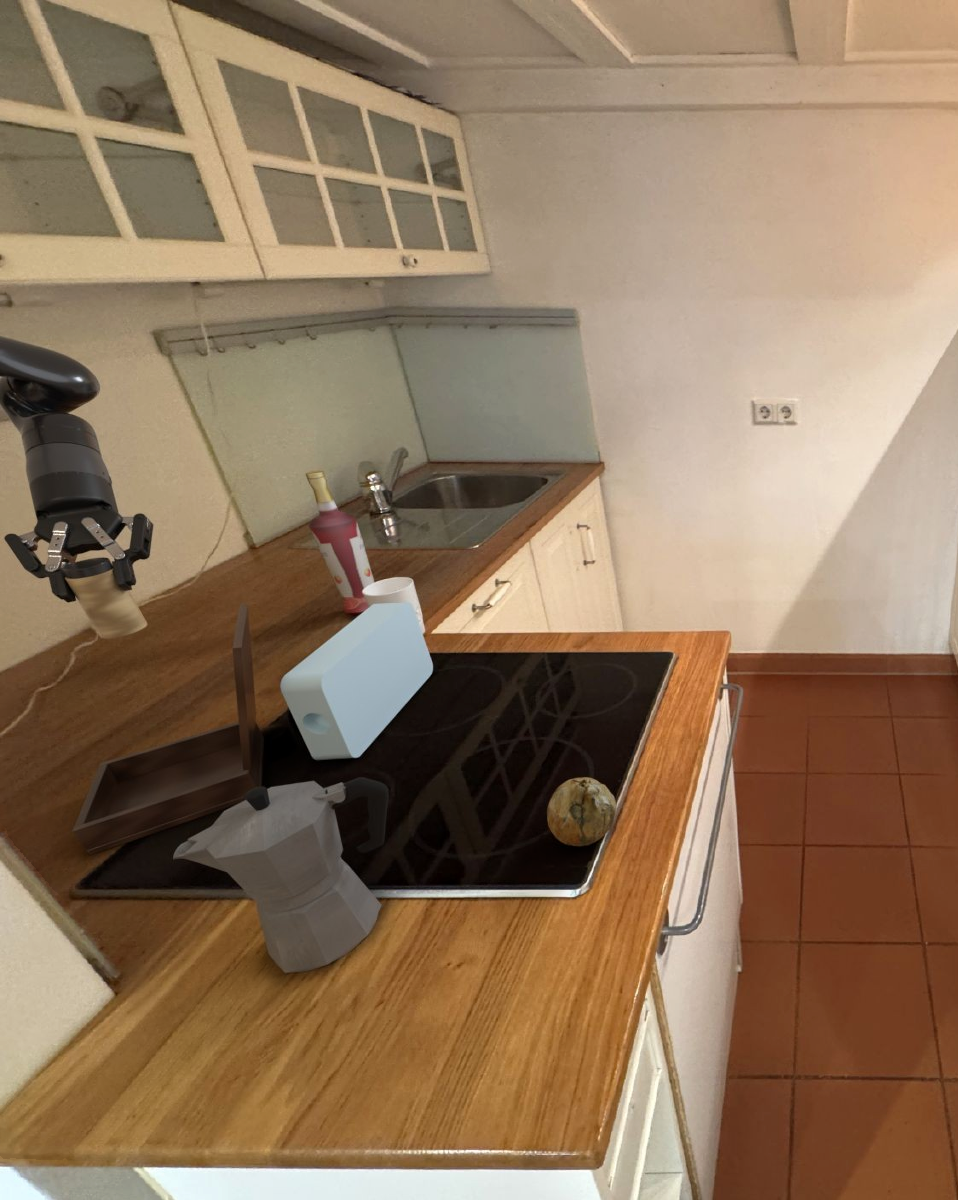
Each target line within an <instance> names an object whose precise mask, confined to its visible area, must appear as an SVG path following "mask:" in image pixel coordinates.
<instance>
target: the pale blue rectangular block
mask: <svg viewBox="0 0 958 1200" xmlns="http://www.w3.org/2000/svg"><path fill="white" fill-rule="evenodd" d="M433 671H434V664H433V661H432V657H431V655H430V652H429V649H428V646H427V643H426V640H425V636H424V633H423V634H422V631H421V628H420V625H419V622H418V619H417V616H416V613H415V610H414V607H413V605H412V604H411V603H409V602H402V603H384V604H373V605H372V606H370V607H369V608H368V609H367V610H365V611H364V612H363V613H362V614H360V615H359V616H356V617H355V618H354V619H353V620H352V621H351V622H349V623H348V624H346V625H345V626H344V627H343V628H342V629H340V630H339V631H338V632H336V634H334V635H333V636H331V637H330V638H329V639H328V640H327V641H325V642H324V643H323V644H322V645H321V646H319V647H318V648H317V649H315V650H314V651H313V652H311V654H309V655H308V656H307V657H305V658H303V660H302V661H300V662H299V663H298V664H297V665H295V666H294V667H293V668H292V669H291V670H289V671H288V672H287V673H285V674H284V675H283V677H282V678H281V681H280V692H281V694H282V696H283V699H284V700H285V703H286V705H287V707H288V709H289V711H290V714H291V715H292V718H293V720H294V721H295V724H296V726H297V728H298V730H299V733H300V734H301V736H302V739H303V741H304V743H305V745H306V747H307V749H308V752H309V753H310V756H311V758H312V759H313V760H316V761H325V760H341V759H344V760H345V759H357V758H360V757H361V756H362V755H363V754H364V752H365V751H366V750H367V749H368V748H369V747H370V746H371V744H372V743H373V742H374V741H375V740H376V739H377V738H378V736H379V735H380V734H381V733H382V732H383V731H384V729H385V728H386V727H387V726H388V725H389V724H390V723H391V722H392V721H393V719H394V718H395V717H396V716H397V714H398V713H399V712H401V710H402V709H403V708H404V707H405V706H406V704H408V702H409V701H410V700H411V699H412V697H413V696H414V695H415V694H416V693H417V692H418V691H419V690H420V688H422V686H423V685H424V684H425V683H426V681H427V680H428V679H430V677H431V675H432V674H433Z"/></svg>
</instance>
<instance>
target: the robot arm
mask: <svg viewBox="0 0 958 1200" xmlns="http://www.w3.org/2000/svg"><path fill="white" fill-rule="evenodd" d="M100 392H101V385H100V381H99V380H98V378H97V376H96V375H95V374H94V373H93V372H92V371H91V369H89V368H88V367H87V366H85V365H84V364H83V363H81V362H80V361H78V360H76V359H74V358H72V357H71V356H69V355H67V354H63V353H61V352H59V351H56V350H52V349H50V348H46V347H44V346H43V347H42V346H39V345H35V344H31V343H28V342H24V341H21V340H17V339H13V338H11V337H6V336H2V335H0V407H1V409H2V410H3V412H4V414H6V415H7V417H8V418H9V420H10V422H11V423H12V425H13V426H14V427H15V429H16V430H17V431H18V432H19V434H20V436H21V437H20V438H21V443H22V446H23V451H24V456H25V460H26V461H25V473H26V477H27V483H28V486H29V492H30V494H31V500H32V505H33V509H34V514H35V517H36V524H35V526H34V527H33V530H32V531H29V532H26V533H23V534H20V535H18V534H16V533H7V534H5V536H4V537H3V538H4V539H3V540H4V541H5V543H6V544H7V545H8V547H9V548H10V550H11V552H12V553H13V554H14V556H15V557H16V558H17V560H18V561H19V563H20V564H21V566H22V568H23V569H24V570H25V571H26V572H29V573H30V574H31V575H32V576H34V577H36V578H37V579H45V578H48V580H49V584H50V588H51V593H52V594H53V595H54V596H55V597H56V598H58V599H60V600H62V601H65V602H66V603H67V604H69V603H73V602H76V601H77V598H76V596H75V595H74V593H73V591H72V590H71V588H70V586H69V585H68V583H67V581H66V580H65V577H66V575H65V574H64V572H63V570H62V568H63V567H65V566H67V565H69V564H72V563H75V562H77V558H78V555H83V554H85V553H88V552H91V551H94V552H95V551H96V552H97V551H107V553H109V555H110V556H111V557H112V558H113V560H112V561H111V563H112V565H113V569H114V573H115V577H116V581H117V584H118V586H119V587H120V588H121V589H122V590H123V591H132V590H133V586H136V584H137V578H136V574H135V570H134V566H133V565H134V563H136V562H138V561H141V560H142V561H144V560H148V559H149V558H150V556H151V549H152V541H153V534H154V533H153V532H154V523H153V522H152V521H151V520H150V518H148V516H146V515H145V513H141V512H139V513H138V512H137V513H136V514H134V515H133V516H122V514H120V512H119V509H118V505H117V501H116V496H115V494H114V489H113V485H112V484H113V480H112V477H111V476H110V472H109V470H108V467H107V465H106V463H105V461H104V460H103V459H104V458H103V456H102V452H101V448H100V443H99V439H98V437H97V433H96V431H95V429H94V427H93V426H92V424H91V423H89V421H87V420H86V419H84V418H83V417H81V416H79V415H76V414H72V412H73V411H75V410H77V409H79V408H81V407H82V406H85V405H86V404H88V403H90V402H91V401H93V400H94V399H95V398H97V396H98V395H99V394H100ZM126 527H127V528H128V530H129V531H130V532H131V534H130V542H129V548H127V549H125V550H124V549H123V548H122V547H121V545H120V544H119V543H118V542H117V541H116V540H117V538H118V537H119V536H120V534H121V533H122V532H123V530H124V529H125V528H126ZM40 541H44V542H46V543H48V544H49V545H48V548H47V555H48V557H47V560H46V563H42V561H41V560H40V558H39V557H38V555H37V554H36V551H37V550H38V548H39V545H38V543H39V542H40Z"/></svg>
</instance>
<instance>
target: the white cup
mask: <svg viewBox="0 0 958 1200" xmlns="http://www.w3.org/2000/svg"><path fill="white" fill-rule="evenodd" d="M362 593H363V596H364V598H365V600H366V603H367V605H368V607H370V606H372V605H373V604H384V603H402V602H409V603H411V604H412V605H413V607H414V610H415V613H416V616H417V619H418V622H419V625H420V628H421V631H422V634H423V635H424V633H425V632H426V625H425V623H424V618H423V617H424V616H423V613H422V607H421V603H420V600H419V596H418V593H417V591H416V585H415V583H414V579H413V578H410V577H408V576H407V577H406V576H396V577H389V578H385V579H381V580H377V581H375V583H372V584H370V585H368V586H366V587H365V588H364V589H363V590H362Z"/></svg>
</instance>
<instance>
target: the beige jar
mask: <svg viewBox="0 0 958 1200" xmlns="http://www.w3.org/2000/svg"><path fill="white" fill-rule="evenodd" d="M62 570H63V572H64V574H65V575H66V577H65V580H66V581H67V583H68V585H69V586H70V588H71V590H72V591H73V593H74V595H75V597H76V601H78V603H79V604H80V607H81V608H82V610H83V611H84V613H85V615H86V617H87V618H88V620H89V621H90V623H91V625H92V626H93V628H94V630H95V631H96V633H97V635H98V636H99V638H101V639H104V640H109V639H111V640H112V639H117V638H121V637H126V636H130V635H132V634H135V633H137V632H139V631H141V630H143V629H145V628H146V627H147V626H148V622H147V620H146V617H144V615H143V613H142V611H141V609H140V608H139V606H138V604H137V602H136V600H135V598H134V597H133V595H132V594H131V590H129V591H123V590H122V589H121V588H120V587H119V586H118V584H117V581H116V577H115V573H114V569H113V565H112V561H111V560H110V558H109V557H106V556H105V557H103V556H102V557H92V558H87V559H83V560H79V561H75V563H72V564H69V565H67V566H65V567H63V568H62Z"/></svg>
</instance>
